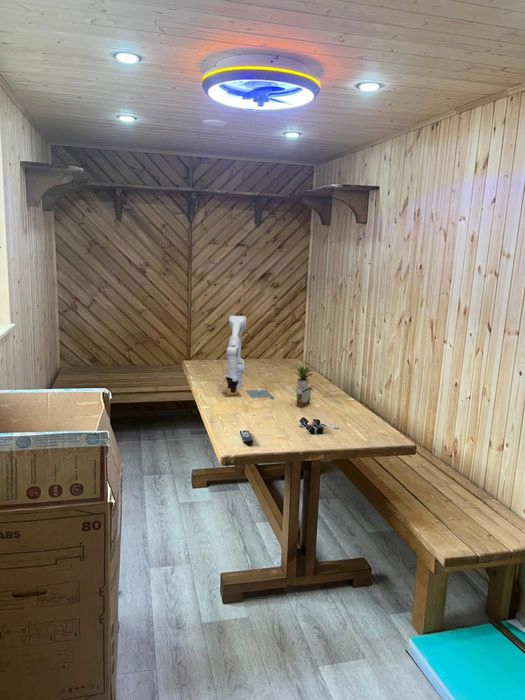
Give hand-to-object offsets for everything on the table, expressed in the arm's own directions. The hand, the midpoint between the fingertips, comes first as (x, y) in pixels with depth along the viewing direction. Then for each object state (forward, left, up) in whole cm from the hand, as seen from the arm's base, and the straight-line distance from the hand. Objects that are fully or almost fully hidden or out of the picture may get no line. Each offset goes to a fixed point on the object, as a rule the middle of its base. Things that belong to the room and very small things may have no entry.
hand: (231, 391), depth 309 cm
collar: (0, 0, -2) cm, 2 cm away
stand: (0, 0, -3) cm, 3 cm away
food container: (+23, +34, -3) cm, 41 cm away
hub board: (0, +16, -3) cm, 16 cm away
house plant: (-11, +46, -3) cm, 47 cm away
